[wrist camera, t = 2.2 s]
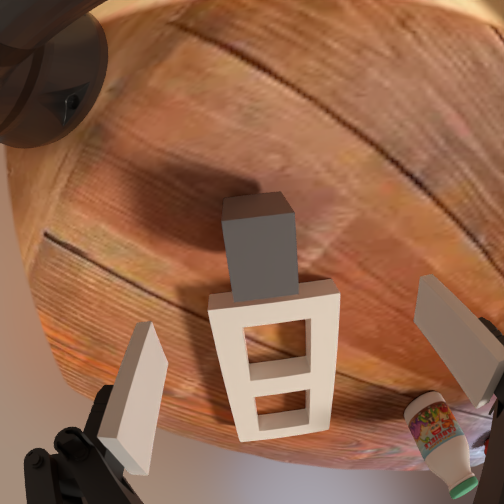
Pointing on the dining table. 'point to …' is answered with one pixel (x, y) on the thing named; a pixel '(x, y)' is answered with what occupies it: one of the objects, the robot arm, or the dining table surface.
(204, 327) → the dining table surface
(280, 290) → the plug
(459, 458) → the milk bottle
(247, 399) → the socket plate
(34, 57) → the robot arm
